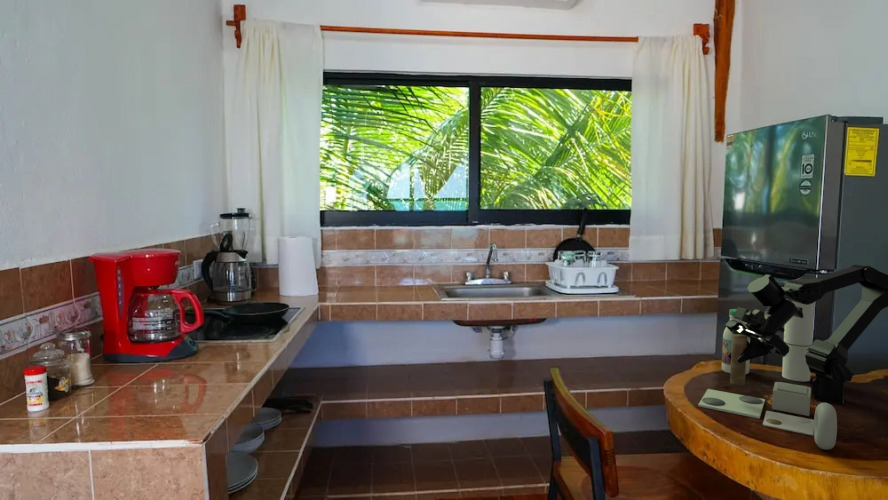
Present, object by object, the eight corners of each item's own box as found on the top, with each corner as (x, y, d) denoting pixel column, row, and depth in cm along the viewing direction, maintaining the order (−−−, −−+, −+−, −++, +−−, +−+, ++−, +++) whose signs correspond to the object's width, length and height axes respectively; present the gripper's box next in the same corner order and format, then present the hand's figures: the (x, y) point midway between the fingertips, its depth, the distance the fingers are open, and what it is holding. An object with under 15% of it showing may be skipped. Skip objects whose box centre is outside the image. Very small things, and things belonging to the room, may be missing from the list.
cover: (809, 406, 138) (811, 386, 137) (809, 416, 131) (810, 395, 131) (774, 399, 142) (775, 380, 142) (771, 408, 136) (772, 388, 135)
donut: (836, 459, 109) (839, 413, 108) (816, 455, 111) (819, 410, 110) (830, 440, 118) (833, 397, 117) (812, 437, 119) (814, 395, 118)
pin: (747, 383, 139) (749, 336, 138) (740, 386, 137) (743, 338, 136) (733, 380, 142) (736, 333, 141) (727, 382, 140) (729, 335, 139)
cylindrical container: (807, 375, 162) (811, 296, 160) (812, 382, 155) (816, 300, 153) (780, 372, 165) (784, 294, 163) (784, 379, 158) (788, 298, 156)
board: (764, 401, 141) (764, 398, 141) (759, 418, 130) (759, 415, 130) (707, 390, 149) (707, 388, 149) (698, 406, 138) (698, 403, 138)
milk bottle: (742, 368, 170) (744, 307, 168) (753, 375, 162) (756, 312, 160) (717, 367, 170) (719, 307, 169) (727, 375, 163) (730, 312, 161)
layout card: (813, 421, 128) (814, 419, 128) (813, 435, 120) (813, 434, 120) (766, 411, 134) (766, 410, 134) (762, 425, 126) (762, 423, 126)
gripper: (732, 291, 147) (694, 330, 147) (780, 303, 129) (736, 348, 129) (757, 318, 149) (719, 357, 149) (808, 334, 130) (765, 378, 130)
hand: (733, 359), depth 139 cm, fingers closed on pin, 3 cm apart
